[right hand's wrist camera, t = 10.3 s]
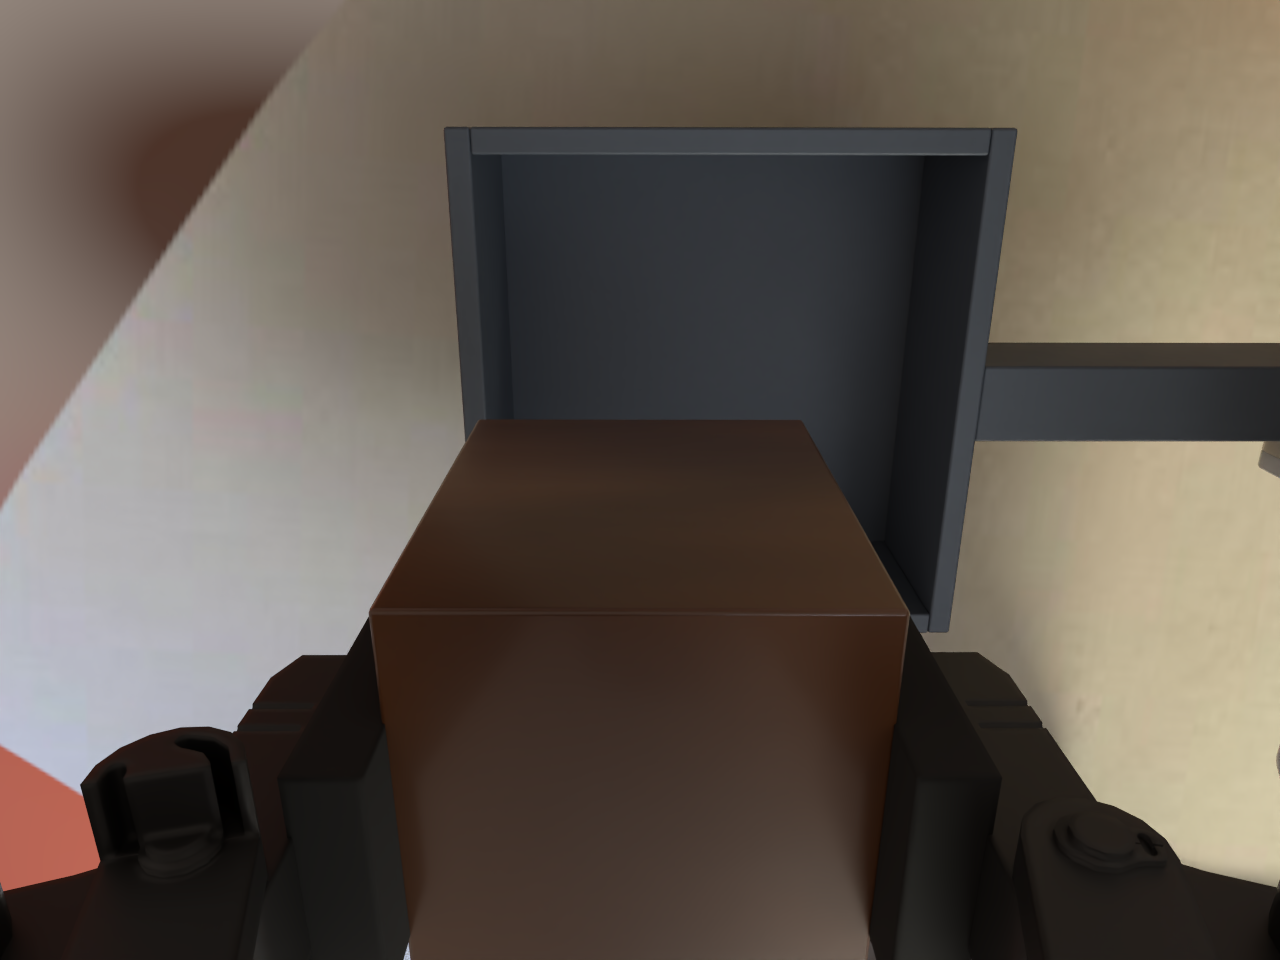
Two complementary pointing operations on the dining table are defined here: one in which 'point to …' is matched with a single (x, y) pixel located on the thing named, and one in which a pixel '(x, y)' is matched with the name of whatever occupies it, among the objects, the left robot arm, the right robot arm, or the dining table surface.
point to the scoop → (800, 311)
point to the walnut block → (639, 697)
